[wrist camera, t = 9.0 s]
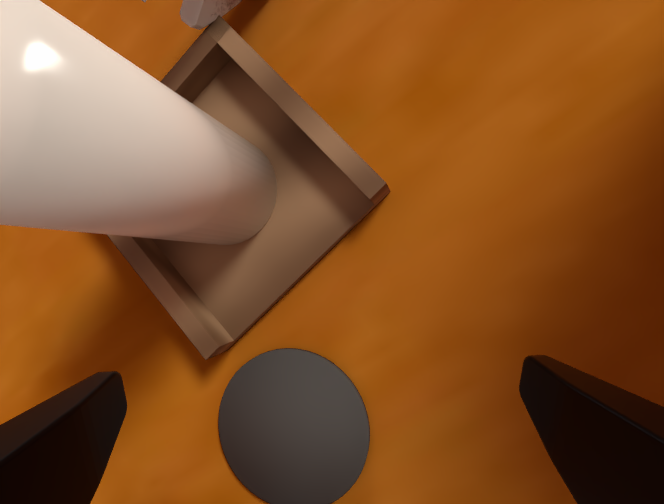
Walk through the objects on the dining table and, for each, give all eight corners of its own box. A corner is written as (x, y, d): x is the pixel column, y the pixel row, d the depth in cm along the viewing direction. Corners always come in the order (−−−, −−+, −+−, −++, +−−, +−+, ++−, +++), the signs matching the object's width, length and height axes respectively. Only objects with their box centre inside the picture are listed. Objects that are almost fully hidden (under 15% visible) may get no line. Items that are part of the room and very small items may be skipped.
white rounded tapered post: (285, 233, 20) (59, 185, 8) (188, 254, 21) (-136, 240, 9) (267, 126, 20) (25, -77, 8) (173, 153, 22) (-156, 12, 9)
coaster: (402, 460, 19) (401, 463, 19) (272, 533, 20) (270, 537, 20) (312, 318, 20) (310, 319, 20) (195, 397, 22) (192, 399, 21)
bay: (390, 191, 19) (386, 183, 17) (226, 350, 21) (205, 360, 19) (237, 37, 22) (218, 14, 19) (101, 194, 23) (69, 187, 21)
